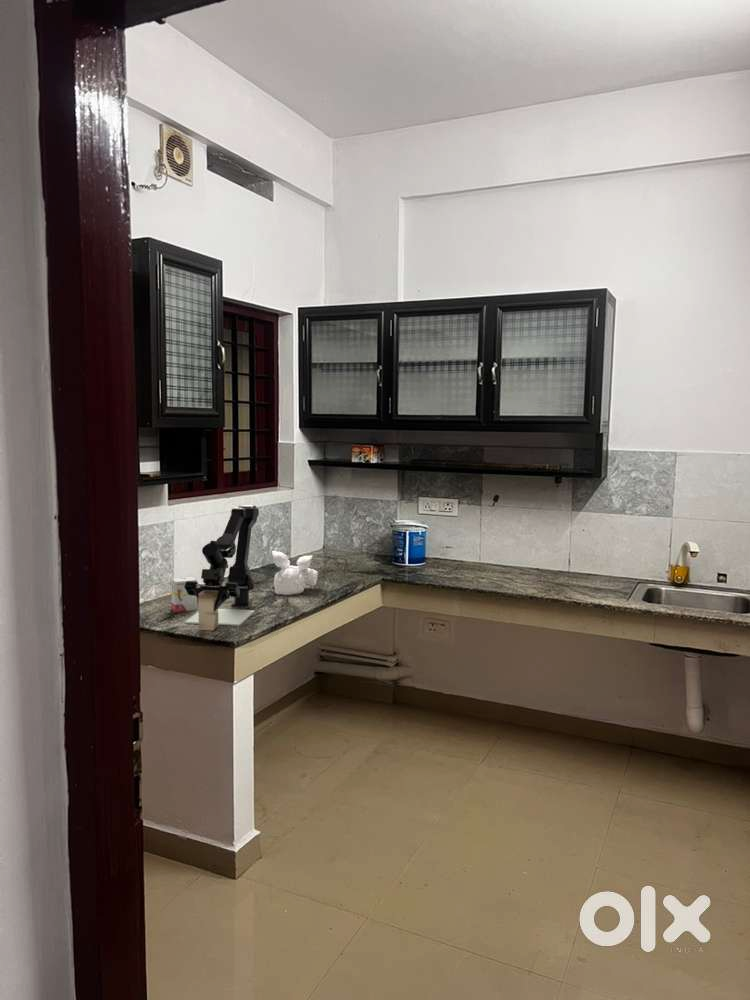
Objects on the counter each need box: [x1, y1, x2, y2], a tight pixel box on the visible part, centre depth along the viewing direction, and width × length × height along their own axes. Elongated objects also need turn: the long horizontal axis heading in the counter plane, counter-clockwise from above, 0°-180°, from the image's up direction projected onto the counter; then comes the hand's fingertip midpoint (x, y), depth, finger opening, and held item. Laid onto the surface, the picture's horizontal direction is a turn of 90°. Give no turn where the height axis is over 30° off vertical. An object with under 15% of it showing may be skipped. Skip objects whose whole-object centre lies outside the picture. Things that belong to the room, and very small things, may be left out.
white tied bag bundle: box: [271, 550, 319, 596], centre depth 312 cm, size 19×20×20 cm
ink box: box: [171, 576, 198, 613], centre depth 279 cm, size 9×5×12 cm, turn 120°
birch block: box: [197, 590, 219, 631], centre depth 256 cm, size 6×5×12 cm
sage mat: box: [184, 608, 255, 627], centre depth 270 cm, size 19×20×1 cm
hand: (206, 609), depth 255 cm, fingers closed on birch block, 5 cm apart
